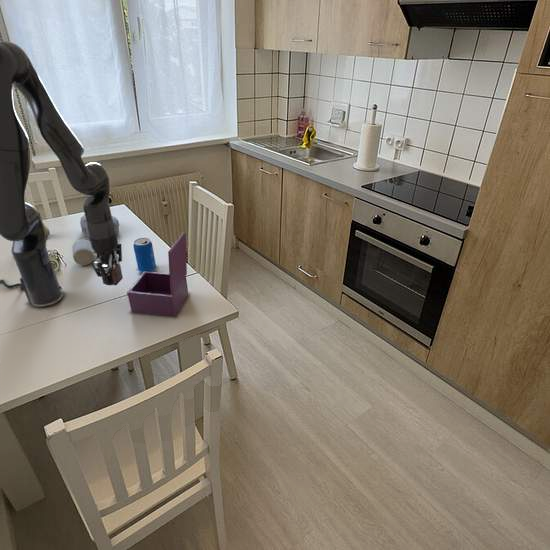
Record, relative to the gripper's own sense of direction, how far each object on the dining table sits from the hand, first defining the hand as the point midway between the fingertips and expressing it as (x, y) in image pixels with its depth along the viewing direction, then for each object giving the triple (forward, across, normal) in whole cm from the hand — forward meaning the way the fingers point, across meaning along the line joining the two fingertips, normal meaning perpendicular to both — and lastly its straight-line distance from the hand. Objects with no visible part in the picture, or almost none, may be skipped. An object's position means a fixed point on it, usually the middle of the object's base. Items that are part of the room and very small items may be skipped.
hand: (113, 280), depth 126 cm
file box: (+8, -2, +14) cm, 17 cm away
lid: (-8, -1, +22) cm, 23 cm away
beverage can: (+8, -20, +1) cm, 22 cm away
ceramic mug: (+9, -23, -24) cm, 34 cm away
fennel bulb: (+5, -57, -26) cm, 63 cm away
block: (0, 0, 0) cm, 0 cm away
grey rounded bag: (+9, -47, -33) cm, 58 cm away
